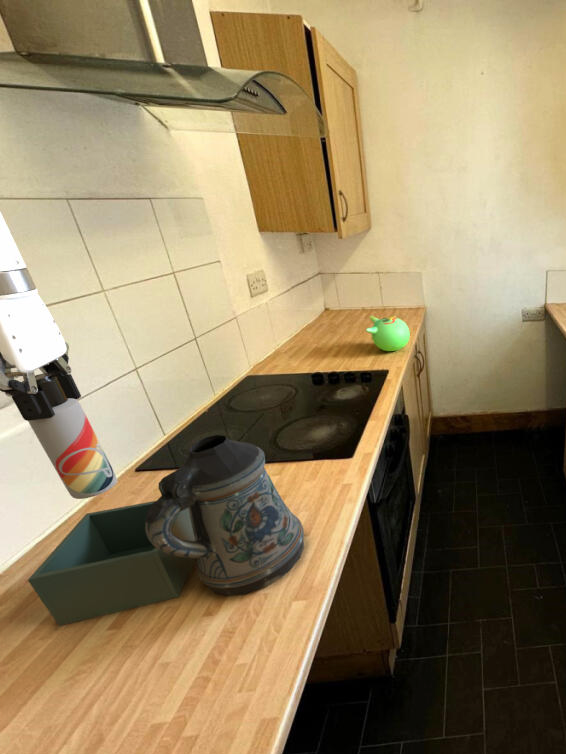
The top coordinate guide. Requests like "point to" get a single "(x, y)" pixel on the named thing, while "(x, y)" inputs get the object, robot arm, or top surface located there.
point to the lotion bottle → (72, 443)
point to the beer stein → (227, 518)
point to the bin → (111, 566)
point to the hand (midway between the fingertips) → (54, 407)
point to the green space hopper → (389, 333)
